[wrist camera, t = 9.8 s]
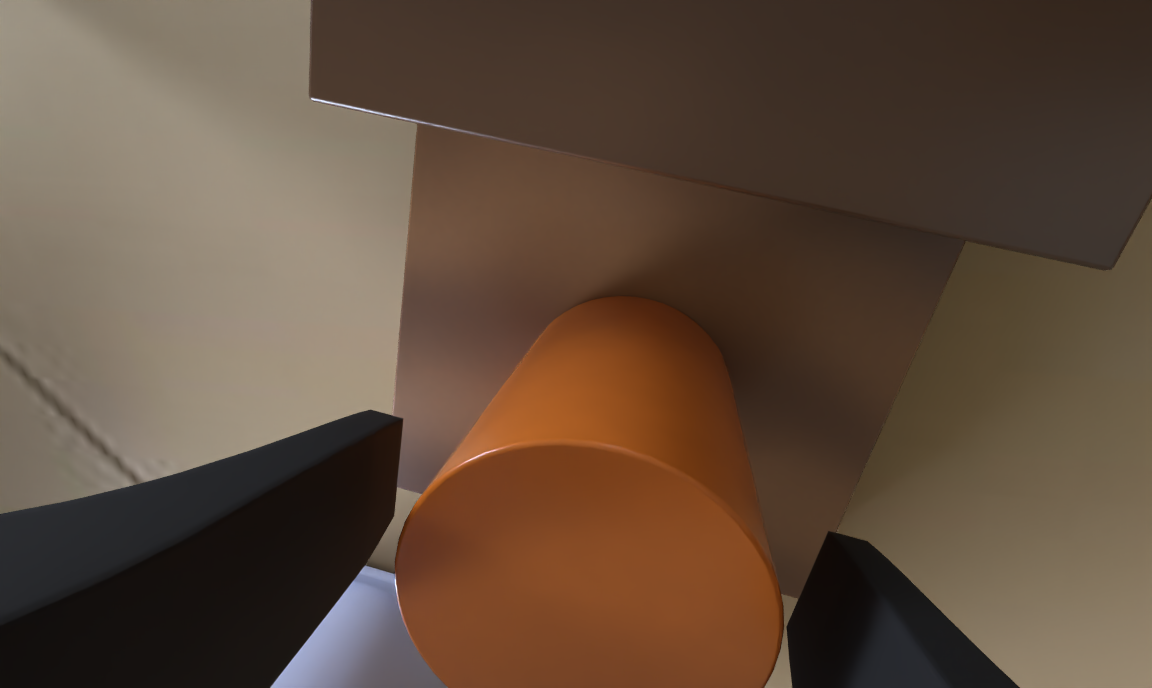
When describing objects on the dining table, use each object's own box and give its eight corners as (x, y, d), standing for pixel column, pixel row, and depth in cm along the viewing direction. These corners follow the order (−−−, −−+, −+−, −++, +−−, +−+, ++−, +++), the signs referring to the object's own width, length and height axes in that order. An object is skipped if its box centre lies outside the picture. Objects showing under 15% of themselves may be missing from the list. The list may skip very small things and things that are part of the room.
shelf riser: (791, 551, 17) (849, 752, 11) (415, 449, 18) (296, 586, 12) (1054, -79, 11) (1435, -308, 6) (481, -171, 12) (318, -439, 7)
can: (760, 324, 13) (849, 508, 6) (699, 509, 15) (717, 801, 8) (540, 272, 13) (408, 394, 7) (508, 458, 15) (379, 695, 9)
